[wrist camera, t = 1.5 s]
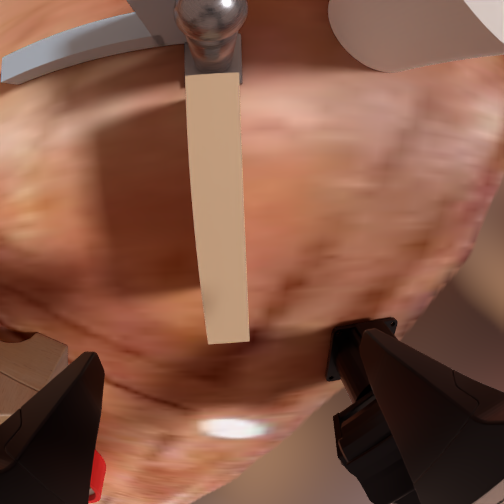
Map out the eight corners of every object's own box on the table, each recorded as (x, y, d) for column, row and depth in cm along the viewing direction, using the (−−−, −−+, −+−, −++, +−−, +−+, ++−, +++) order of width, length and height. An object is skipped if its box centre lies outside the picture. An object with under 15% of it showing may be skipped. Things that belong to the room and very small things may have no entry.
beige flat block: (196, 95, 17) (185, 75, 11) (231, 93, 17) (238, 72, 11) (209, 284, 22) (208, 344, 16) (240, 282, 22) (249, 341, 16)
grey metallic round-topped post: (242, 84, 17) (266, 37, 8) (185, 87, 17) (154, 44, 8) (240, 34, 16) (261, -41, 7) (184, 38, 16) (159, -36, 6)
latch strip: (189, 42, 16) (173, -8, 8) (18, 84, 15) (-52, 78, 7) (189, 17, 15) (175, -41, 8) (19, 61, 14) (-48, 47, 6)
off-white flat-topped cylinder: (436, 47, 17) (549, 29, 6) (377, 91, 18) (507, 79, 7) (375, -30, 14) (465, -91, 3) (304, 5, 15) (386, -86, 4)
